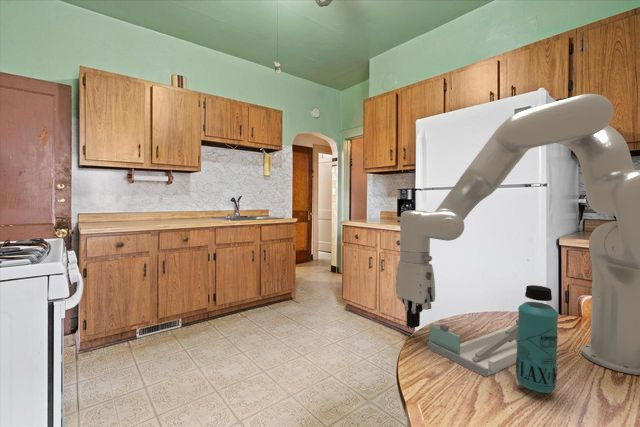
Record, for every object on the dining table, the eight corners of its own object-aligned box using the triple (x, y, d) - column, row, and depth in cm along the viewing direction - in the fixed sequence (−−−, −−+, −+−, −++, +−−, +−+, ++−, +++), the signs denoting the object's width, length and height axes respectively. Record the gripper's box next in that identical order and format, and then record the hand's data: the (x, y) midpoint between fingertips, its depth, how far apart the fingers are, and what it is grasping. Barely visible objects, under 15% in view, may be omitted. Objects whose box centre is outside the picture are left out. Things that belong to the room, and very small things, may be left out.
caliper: (520, 340, 80) (521, 316, 80) (525, 342, 79) (525, 318, 79) (471, 361, 70) (472, 333, 70) (476, 363, 69) (476, 335, 69)
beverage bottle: (507, 385, 61) (509, 284, 61) (529, 378, 64) (531, 281, 63) (542, 405, 55) (545, 293, 55) (565, 396, 58) (568, 289, 57)
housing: (549, 347, 78) (550, 337, 78) (485, 377, 64) (486, 365, 64) (490, 327, 91) (490, 318, 91) (427, 348, 77) (427, 338, 77)
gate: (460, 357, 72) (460, 331, 72) (457, 358, 71) (457, 332, 71) (432, 343, 79) (432, 320, 79) (428, 344, 78) (429, 320, 78)
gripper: (448, 260, 78) (446, 333, 79) (403, 252, 91) (402, 315, 92) (427, 263, 74) (425, 340, 75) (384, 254, 87) (383, 319, 88)
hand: (413, 326), depth 83 cm, fingers closed
